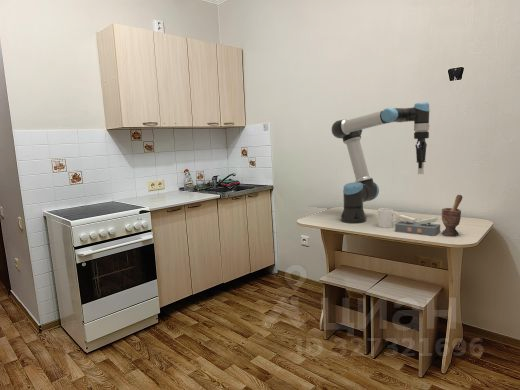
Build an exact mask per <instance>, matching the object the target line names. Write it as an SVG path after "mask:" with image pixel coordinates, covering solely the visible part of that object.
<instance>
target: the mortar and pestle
mask: <svg viewBox="0 0 520 390" xmlns="http://www.w3.org/2000/svg"><path fill="white" fill-rule="evenodd" d="M462 201H463V195H462V194H457V195H456V196H455V199H454V203H453V206H452V207H444V208H443V207H442V208H441V221H442V223H443V226H444V227H445V229H444V230H442V233H441V235H443V236H448V237H449V236H450V237H456V236H457V237H458V236H459V235H460V234H459V232H458V230H457V227H458V226H459V225H460V222H461V216H462V210H461V209H459V208H458V207H459V206H460V204H461V202H462Z"/></svg>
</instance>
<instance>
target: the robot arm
mask: <svg viewBox="0 0 520 390" xmlns="http://www.w3.org/2000/svg"><path fill="white" fill-rule="evenodd" d="M430 110H431V109H430V104H429V102H417V103H416V102H415V103H414V106H413V107H406V108H405V107H402V108H401V107H387V108H384V109H383V110H380V111H375V112H373V113H372V112H371V113H369V114H366V115H361V116H358V117H355V118H354V117H353V118H350V119H346V118H345V119H340V120H336V121H335V122H334V123H333V124H332V126H331V133H332V135H333V136H334V137H335V138H336V139H341V140H342V141H343V144H345V145H346V147H347V151H348V156H349V158H350V162H351V167H352V169H353V173H354V177H355V181H354V182H347V183H346V184H345V185H344V186H343V191H342V192H343V210H342V214H341V217H340V219H341V220H340V221H341V222H342V223H346V224H347V223H348V224H361V223H364V222H367V217H366V213H365V211H364V203H365V202H370V201H372V200H375V199H376V198H377V197H378V196H379V192H380V189H379V185H378V184H377V183H376V182H374V180H373V178H372V177H371V176H370V173H369V170H368V166H367V163H366V159H365V156H364V151H363V148H362V145H361V139H362V132H363V130H366V129H369V128H373V127H378V126H381V125H382V126H383V125H386V124H390V123H407V122H413V131H414V132H413V139H415V140H416V144H415V145H414V146H415V152H416V154H415V156H416V163H417V175H424V174H425V170H424V169H425V163H426V155H427V146H428V144H427V142H426V139H429V138H430V132H429V130H430V127H431V125H430V112H431V111H430Z"/></svg>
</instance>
